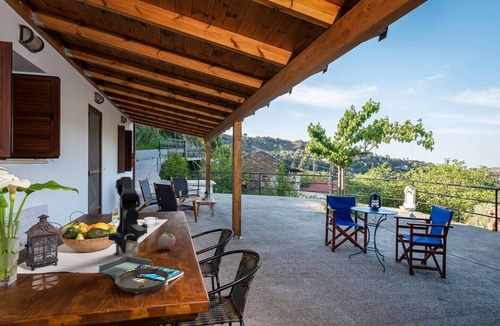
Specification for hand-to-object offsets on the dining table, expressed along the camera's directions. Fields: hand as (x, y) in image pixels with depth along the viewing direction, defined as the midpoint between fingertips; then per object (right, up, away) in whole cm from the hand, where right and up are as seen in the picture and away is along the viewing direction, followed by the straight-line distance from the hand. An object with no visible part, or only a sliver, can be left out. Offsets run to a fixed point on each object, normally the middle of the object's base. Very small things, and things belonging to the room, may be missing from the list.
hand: (128, 251), depth 144 cm
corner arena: (0, -7, -2) cm, 8 cm away
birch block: (0, -1, 0) cm, 1 cm away
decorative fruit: (+9, -8, +32) cm, 34 cm away
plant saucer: (+13, -8, -19) cm, 25 cm away
